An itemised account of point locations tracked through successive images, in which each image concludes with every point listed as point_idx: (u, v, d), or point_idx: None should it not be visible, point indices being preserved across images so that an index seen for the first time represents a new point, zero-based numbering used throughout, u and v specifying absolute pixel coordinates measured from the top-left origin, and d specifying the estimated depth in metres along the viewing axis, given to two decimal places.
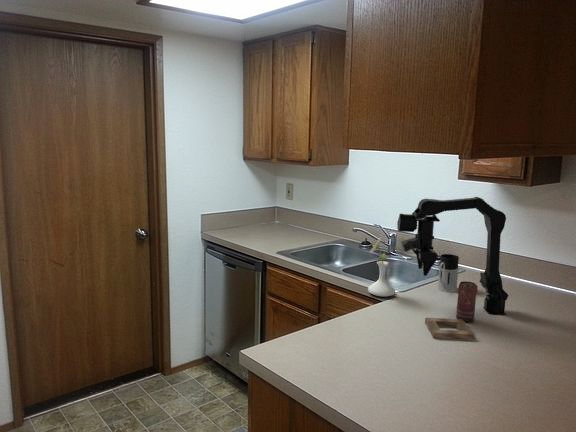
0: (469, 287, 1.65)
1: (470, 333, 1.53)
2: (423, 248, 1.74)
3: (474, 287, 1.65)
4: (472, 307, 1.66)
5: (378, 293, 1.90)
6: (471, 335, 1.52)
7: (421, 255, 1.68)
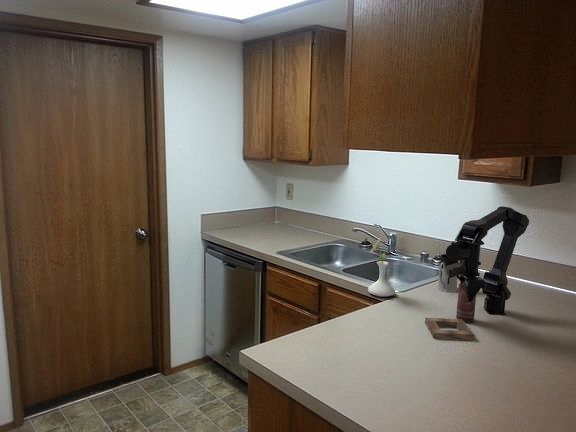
0: None
1: (470, 333, 1.53)
2: (469, 274, 1.64)
3: None
4: (472, 307, 1.66)
5: (378, 293, 1.90)
6: (471, 335, 1.52)
7: (468, 283, 1.58)
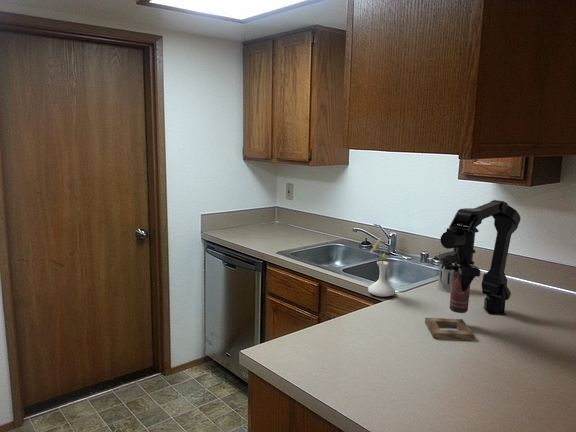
0: None
1: (470, 333, 1.53)
2: (463, 263, 1.59)
3: None
4: (466, 297, 1.61)
5: (378, 293, 1.90)
6: (471, 335, 1.52)
7: (462, 271, 1.53)
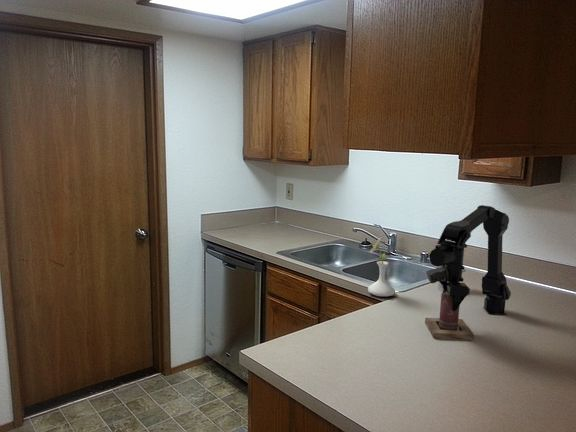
0: None
1: (470, 333, 1.53)
2: (452, 280, 1.54)
3: None
4: (455, 318, 1.56)
5: (378, 293, 1.90)
6: (471, 335, 1.52)
7: (451, 289, 1.48)
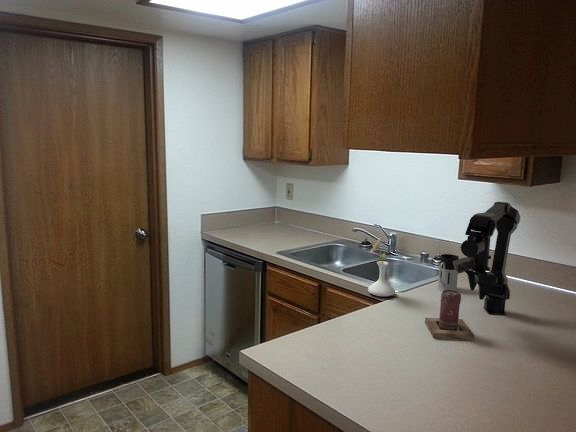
0: (452, 296, 1.55)
1: (470, 333, 1.53)
2: (479, 269, 1.57)
3: (457, 296, 1.55)
4: (455, 318, 1.56)
5: (378, 293, 1.90)
6: (471, 335, 1.52)
7: (479, 278, 1.51)
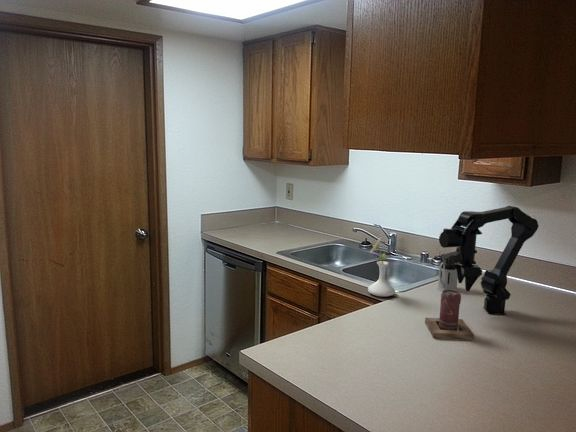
0: (452, 296, 1.55)
1: (470, 333, 1.53)
2: (465, 262, 1.68)
3: (457, 296, 1.55)
4: (455, 318, 1.56)
5: (378, 293, 1.90)
6: (471, 335, 1.52)
7: (465, 270, 1.63)
